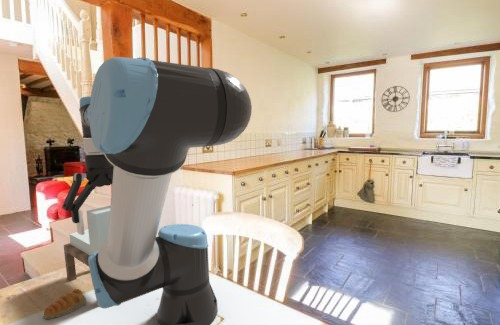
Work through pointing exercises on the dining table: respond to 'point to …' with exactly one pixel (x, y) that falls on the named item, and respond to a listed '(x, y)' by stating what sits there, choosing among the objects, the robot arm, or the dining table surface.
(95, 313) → the dining table surface
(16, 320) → the dining table surface
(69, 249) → the bench
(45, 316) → the pastry
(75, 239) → the white stepped block
